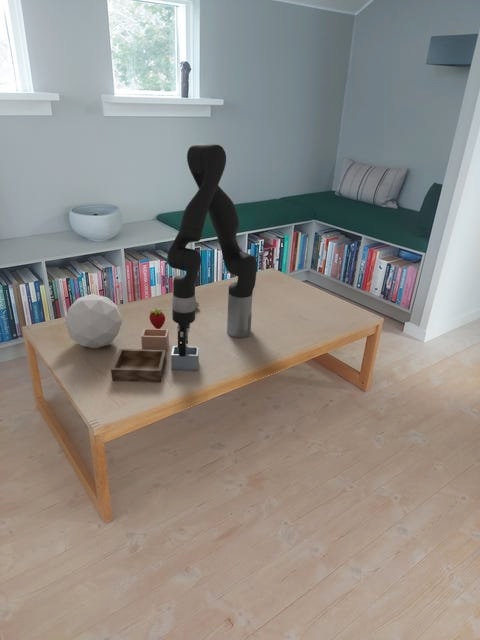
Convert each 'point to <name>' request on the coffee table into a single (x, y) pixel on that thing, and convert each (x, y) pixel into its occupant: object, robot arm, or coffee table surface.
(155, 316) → the strawberry
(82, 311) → the geometric orb
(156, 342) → the terracotta crate
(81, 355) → the coffee table surface
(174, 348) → the blue-grey hollow box
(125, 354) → the walnut crate
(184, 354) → the robot arm
